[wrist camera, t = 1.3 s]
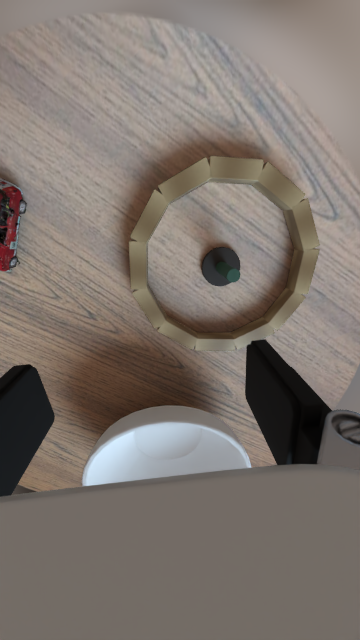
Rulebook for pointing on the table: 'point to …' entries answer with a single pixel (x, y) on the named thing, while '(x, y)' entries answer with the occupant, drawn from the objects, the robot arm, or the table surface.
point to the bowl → (163, 446)
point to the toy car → (9, 223)
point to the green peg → (221, 266)
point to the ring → (298, 226)
